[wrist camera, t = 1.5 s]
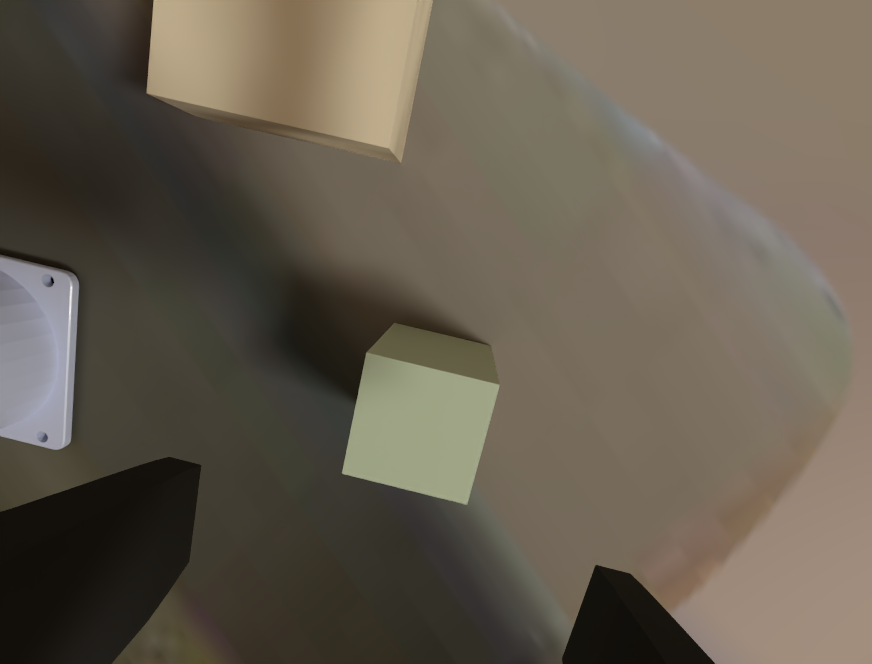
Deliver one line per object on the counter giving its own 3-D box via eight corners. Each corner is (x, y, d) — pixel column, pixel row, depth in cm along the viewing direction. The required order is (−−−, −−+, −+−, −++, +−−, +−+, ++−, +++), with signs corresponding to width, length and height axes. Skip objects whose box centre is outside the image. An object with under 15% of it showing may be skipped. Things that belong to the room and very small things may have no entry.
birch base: (202, 119, 17) (146, 93, 14) (226, -122, 15) (169, -210, 12) (402, 165, 17) (388, 148, 14) (449, -74, 15) (445, -151, 12)
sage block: (375, 412, 18) (341, 473, 14) (394, 322, 18) (366, 352, 13) (467, 435, 18) (467, 504, 14) (490, 345, 18) (499, 384, 13)
